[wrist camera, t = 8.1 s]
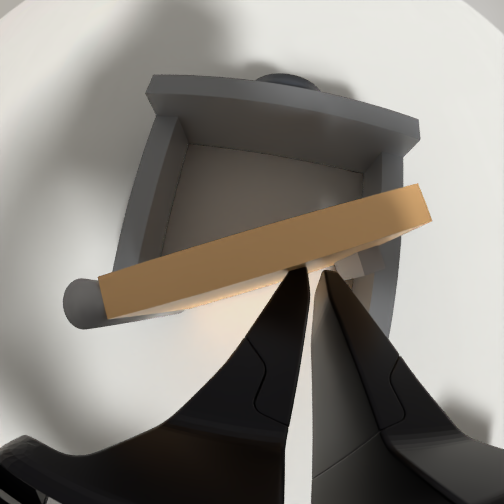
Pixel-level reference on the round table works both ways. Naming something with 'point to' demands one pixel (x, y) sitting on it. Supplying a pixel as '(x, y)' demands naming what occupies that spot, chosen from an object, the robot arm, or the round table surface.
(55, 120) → the round table surface
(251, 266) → the side door
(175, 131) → the grey cabinet body
